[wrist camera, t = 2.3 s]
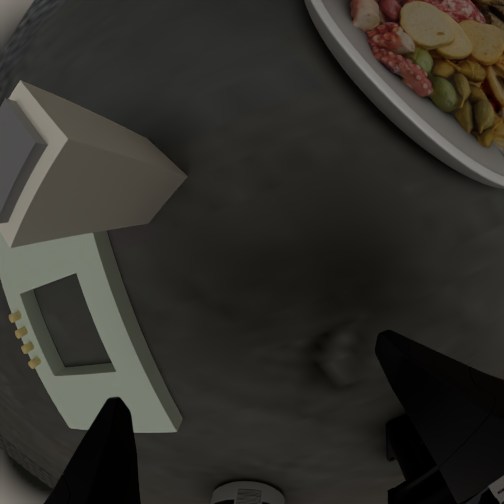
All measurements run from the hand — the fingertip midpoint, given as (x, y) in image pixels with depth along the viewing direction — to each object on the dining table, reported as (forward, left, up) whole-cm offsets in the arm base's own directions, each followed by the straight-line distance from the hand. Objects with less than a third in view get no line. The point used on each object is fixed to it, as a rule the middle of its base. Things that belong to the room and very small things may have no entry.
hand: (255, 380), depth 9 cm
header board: (+1, +18, -12) cm, 21 cm away
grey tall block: (+10, +6, -12) cm, 16 cm away
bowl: (+17, -23, -12) cm, 31 cm away
